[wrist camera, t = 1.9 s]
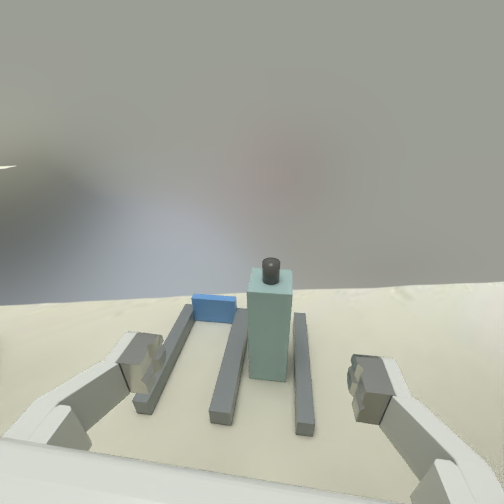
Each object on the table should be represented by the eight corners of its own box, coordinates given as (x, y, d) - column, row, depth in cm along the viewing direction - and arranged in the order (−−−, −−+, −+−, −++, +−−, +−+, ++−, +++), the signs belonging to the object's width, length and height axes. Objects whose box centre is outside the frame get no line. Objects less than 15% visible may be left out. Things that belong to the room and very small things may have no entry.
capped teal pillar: (285, 352, 31) (293, 252, 24) (285, 382, 27) (294, 275, 20) (253, 348, 31) (252, 250, 24) (249, 378, 28) (246, 272, 21)
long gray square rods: (304, 324, 35) (306, 301, 33) (312, 436, 22) (317, 411, 21) (187, 314, 37) (183, 292, 35) (137, 412, 24) (126, 387, 23)
